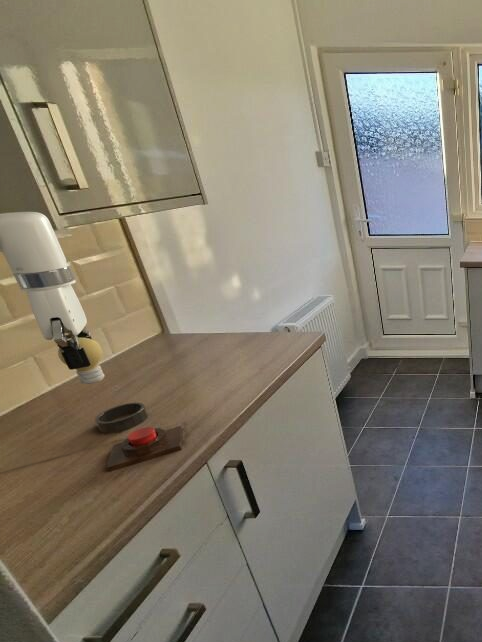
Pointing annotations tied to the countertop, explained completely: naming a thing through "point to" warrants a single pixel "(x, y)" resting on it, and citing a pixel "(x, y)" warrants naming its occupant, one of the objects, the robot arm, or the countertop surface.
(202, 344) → the countertop surface
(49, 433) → the countertop surface
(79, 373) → the light bulb
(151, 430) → the switch button
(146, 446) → the switch block
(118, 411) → the socket
